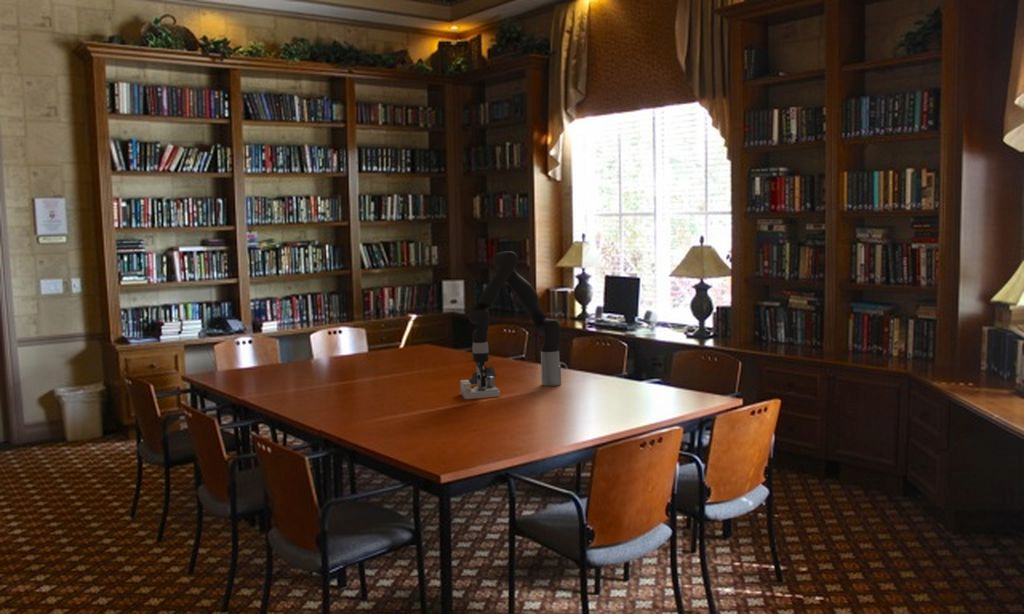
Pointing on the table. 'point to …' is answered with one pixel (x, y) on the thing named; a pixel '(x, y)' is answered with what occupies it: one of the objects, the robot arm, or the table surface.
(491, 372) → the stone
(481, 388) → the cylinder
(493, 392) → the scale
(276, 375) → the table surface
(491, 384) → the grey glossy egg shape
